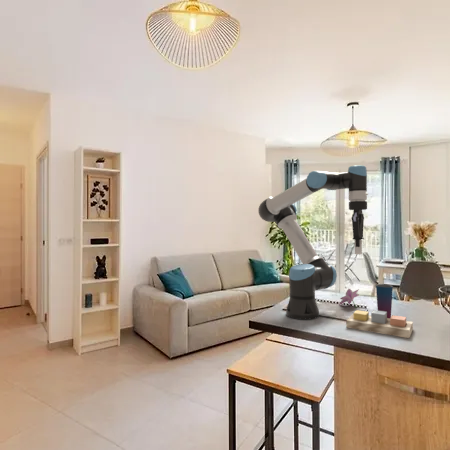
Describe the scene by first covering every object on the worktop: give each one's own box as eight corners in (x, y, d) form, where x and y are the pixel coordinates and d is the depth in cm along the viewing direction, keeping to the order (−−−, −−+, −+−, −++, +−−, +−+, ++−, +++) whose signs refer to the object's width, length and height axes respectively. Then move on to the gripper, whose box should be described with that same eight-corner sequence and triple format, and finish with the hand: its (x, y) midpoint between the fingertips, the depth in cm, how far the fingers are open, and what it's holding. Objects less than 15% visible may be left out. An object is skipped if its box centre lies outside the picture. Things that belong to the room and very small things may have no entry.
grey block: (371, 322, 134) (371, 312, 134) (373, 319, 138) (373, 310, 138) (384, 324, 131) (384, 314, 131) (386, 321, 135) (386, 311, 135)
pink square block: (390, 328, 130) (390, 318, 130) (392, 324, 134) (392, 315, 134) (404, 330, 127) (404, 320, 127) (406, 326, 131) (406, 317, 131)
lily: (363, 306, 172) (355, 289, 176) (369, 303, 161) (360, 284, 165) (341, 313, 172) (333, 296, 176) (345, 311, 161) (337, 292, 165)
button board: (346, 327, 137) (346, 320, 136) (353, 319, 146) (353, 313, 146) (409, 338, 123) (409, 330, 123) (412, 329, 133) (412, 321, 133)
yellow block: (353, 322, 138) (353, 312, 138) (356, 319, 142) (356, 310, 142) (366, 324, 135) (366, 314, 135) (368, 321, 139) (368, 311, 139)
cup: (395, 321, 143) (394, 287, 143) (378, 321, 144) (378, 287, 144) (390, 317, 150) (390, 284, 149) (374, 316, 151) (374, 283, 151)
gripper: (363, 200, 138) (363, 256, 138) (370, 201, 148) (370, 253, 149) (345, 200, 142) (345, 255, 142) (352, 201, 153) (353, 252, 153)
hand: (358, 254), depth 145 cm, fingers closed
